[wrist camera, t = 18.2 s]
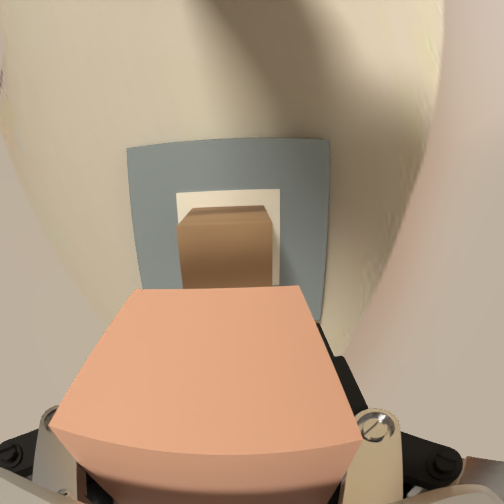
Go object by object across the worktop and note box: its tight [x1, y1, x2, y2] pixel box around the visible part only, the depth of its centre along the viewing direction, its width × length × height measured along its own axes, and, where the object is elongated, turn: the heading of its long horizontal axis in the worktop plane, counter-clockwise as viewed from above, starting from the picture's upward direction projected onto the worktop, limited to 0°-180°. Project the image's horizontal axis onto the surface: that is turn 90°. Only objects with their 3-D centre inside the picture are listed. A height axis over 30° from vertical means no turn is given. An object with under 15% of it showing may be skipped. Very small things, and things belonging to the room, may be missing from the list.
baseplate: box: [127, 138, 330, 320], centre depth 23 cm, size 16×16×1 cm
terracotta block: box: [48, 285, 363, 504], centre depth 7 cm, size 6×6×6 cm
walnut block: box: [176, 205, 273, 289], centre depth 20 cm, size 6×6×6 cm
